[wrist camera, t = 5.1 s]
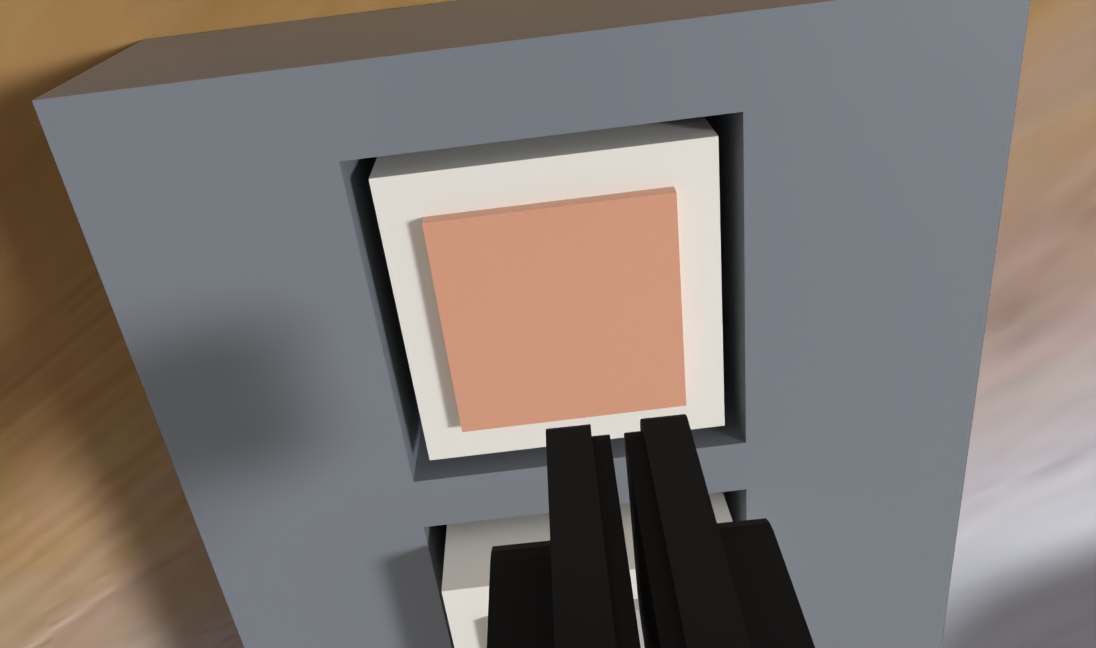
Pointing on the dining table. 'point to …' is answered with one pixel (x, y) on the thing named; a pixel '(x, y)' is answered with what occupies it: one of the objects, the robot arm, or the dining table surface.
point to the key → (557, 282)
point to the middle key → (472, 565)
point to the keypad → (526, 112)
